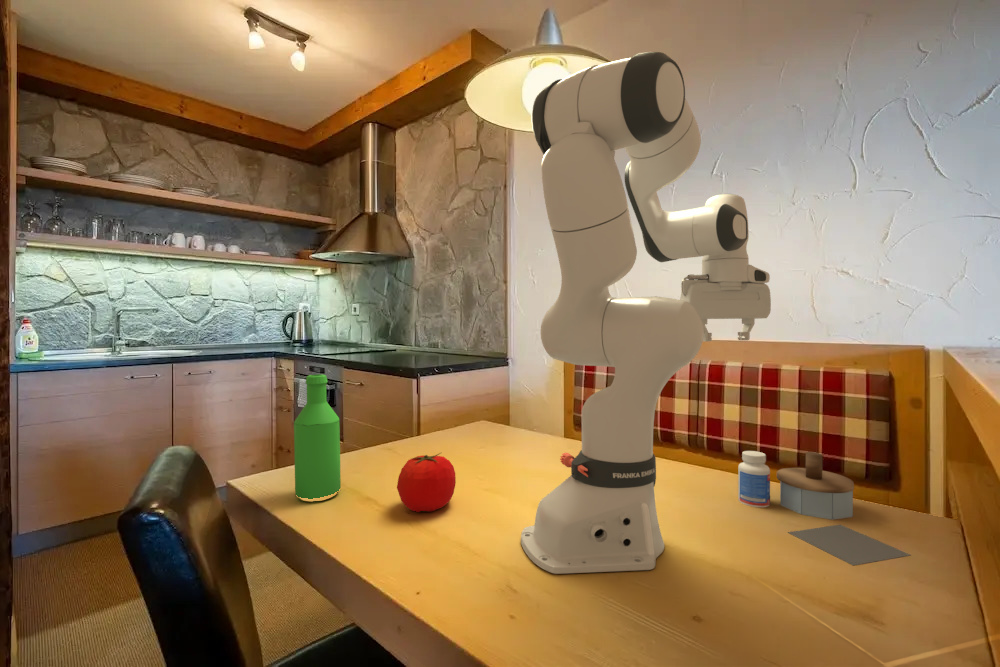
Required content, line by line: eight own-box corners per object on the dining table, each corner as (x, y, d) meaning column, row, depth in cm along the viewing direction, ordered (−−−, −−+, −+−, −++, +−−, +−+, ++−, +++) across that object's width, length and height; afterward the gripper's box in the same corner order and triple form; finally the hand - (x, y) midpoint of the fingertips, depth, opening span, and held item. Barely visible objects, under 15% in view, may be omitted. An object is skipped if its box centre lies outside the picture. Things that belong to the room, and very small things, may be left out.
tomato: (470, 502, 93) (469, 450, 93) (426, 525, 82) (425, 467, 82) (427, 491, 99) (426, 442, 99) (381, 511, 88) (380, 457, 88)
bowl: (817, 523, 81) (817, 495, 81) (766, 500, 92) (766, 475, 92) (866, 516, 84) (866, 488, 84) (811, 495, 95) (811, 470, 95)
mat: (853, 568, 67) (853, 565, 67) (787, 534, 77) (787, 532, 77) (911, 557, 69) (911, 554, 69) (840, 526, 80) (840, 524, 80)
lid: (817, 496, 81) (817, 466, 81) (762, 474, 92) (762, 448, 92) (871, 489, 84) (871, 460, 84) (811, 469, 95) (811, 443, 95)
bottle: (341, 500, 94) (339, 376, 94) (294, 506, 91) (292, 378, 91) (339, 486, 103) (337, 372, 102) (296, 492, 99) (294, 374, 99)
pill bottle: (774, 510, 87) (774, 458, 87) (743, 508, 88) (743, 456, 88) (764, 499, 93) (764, 450, 93) (734, 497, 94) (734, 449, 94)
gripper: (691, 272, 93) (692, 342, 93) (776, 274, 98) (776, 340, 98) (672, 275, 99) (672, 341, 99) (752, 277, 104) (753, 339, 105)
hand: (725, 340), depth 99 cm, fingers open, 8 cm apart
